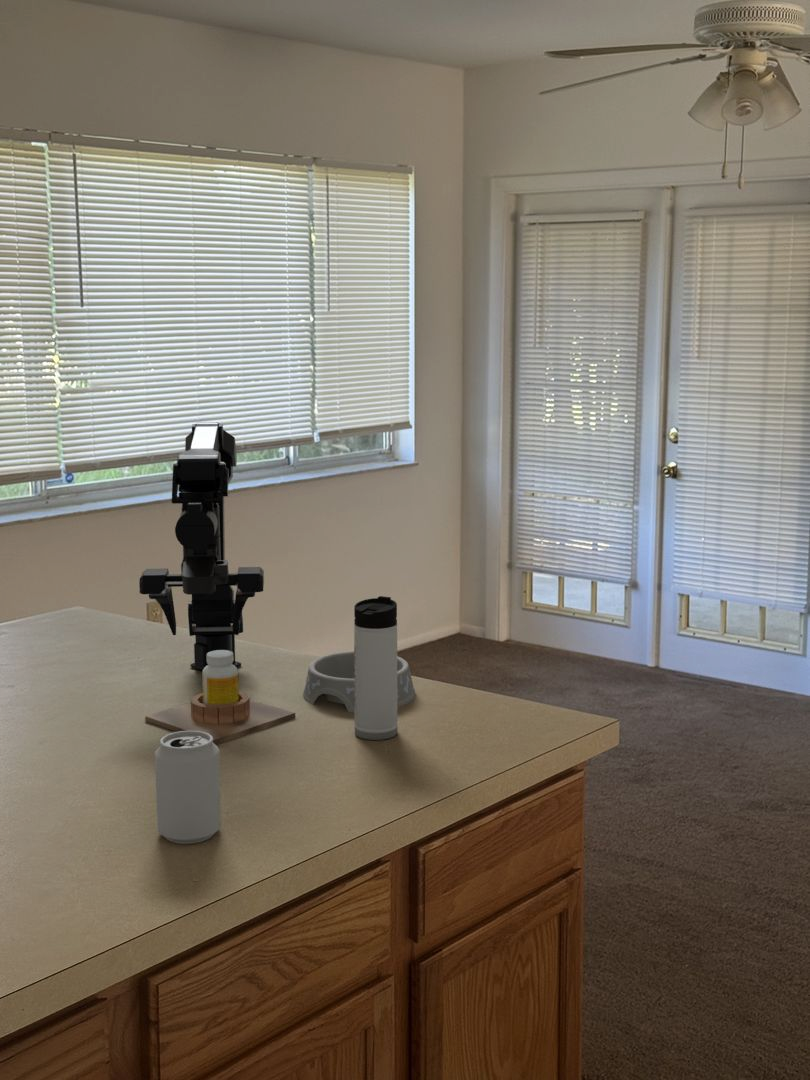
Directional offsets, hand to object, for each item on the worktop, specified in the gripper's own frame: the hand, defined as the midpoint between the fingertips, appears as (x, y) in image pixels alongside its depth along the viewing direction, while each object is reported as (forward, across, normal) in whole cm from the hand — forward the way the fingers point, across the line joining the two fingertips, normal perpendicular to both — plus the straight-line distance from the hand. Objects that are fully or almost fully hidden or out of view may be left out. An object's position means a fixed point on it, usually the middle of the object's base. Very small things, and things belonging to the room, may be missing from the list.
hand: (204, 633), depth 196 cm
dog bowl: (+12, +24, +3) cm, 27 cm away
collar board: (+11, +3, -8) cm, 14 cm away
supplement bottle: (+11, +3, -8) cm, 13 cm away
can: (+11, +2, -49) cm, 50 cm away
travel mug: (+11, +26, -16) cm, 32 cm away
